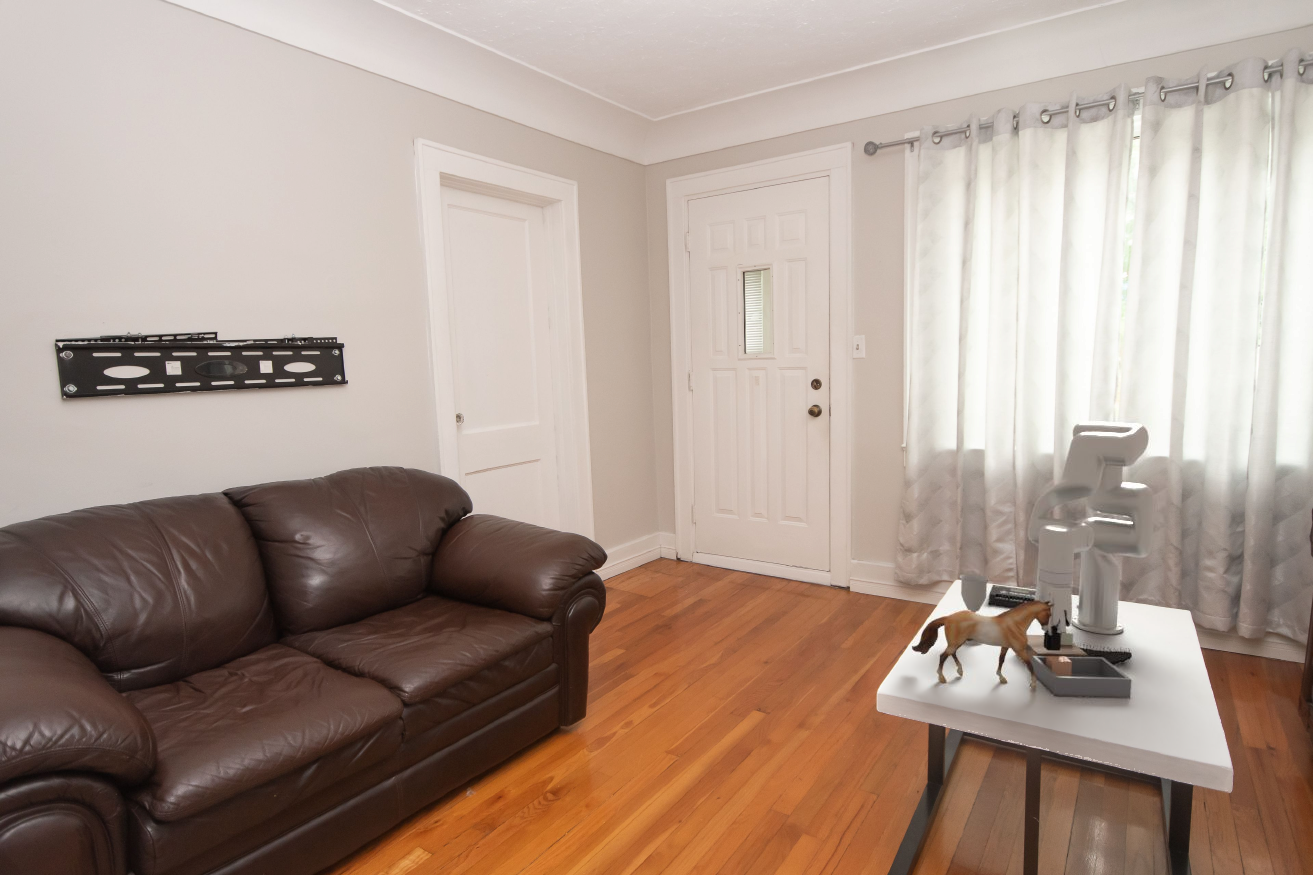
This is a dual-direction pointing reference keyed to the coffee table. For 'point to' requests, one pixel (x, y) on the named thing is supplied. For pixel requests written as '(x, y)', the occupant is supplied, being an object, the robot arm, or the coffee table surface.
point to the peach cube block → (1059, 665)
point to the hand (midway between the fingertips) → (1051, 648)
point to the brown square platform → (1037, 649)
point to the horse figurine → (987, 634)
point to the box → (1084, 678)
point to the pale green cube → (1067, 638)
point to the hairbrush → (1108, 654)
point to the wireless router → (1010, 596)
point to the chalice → (973, 594)
